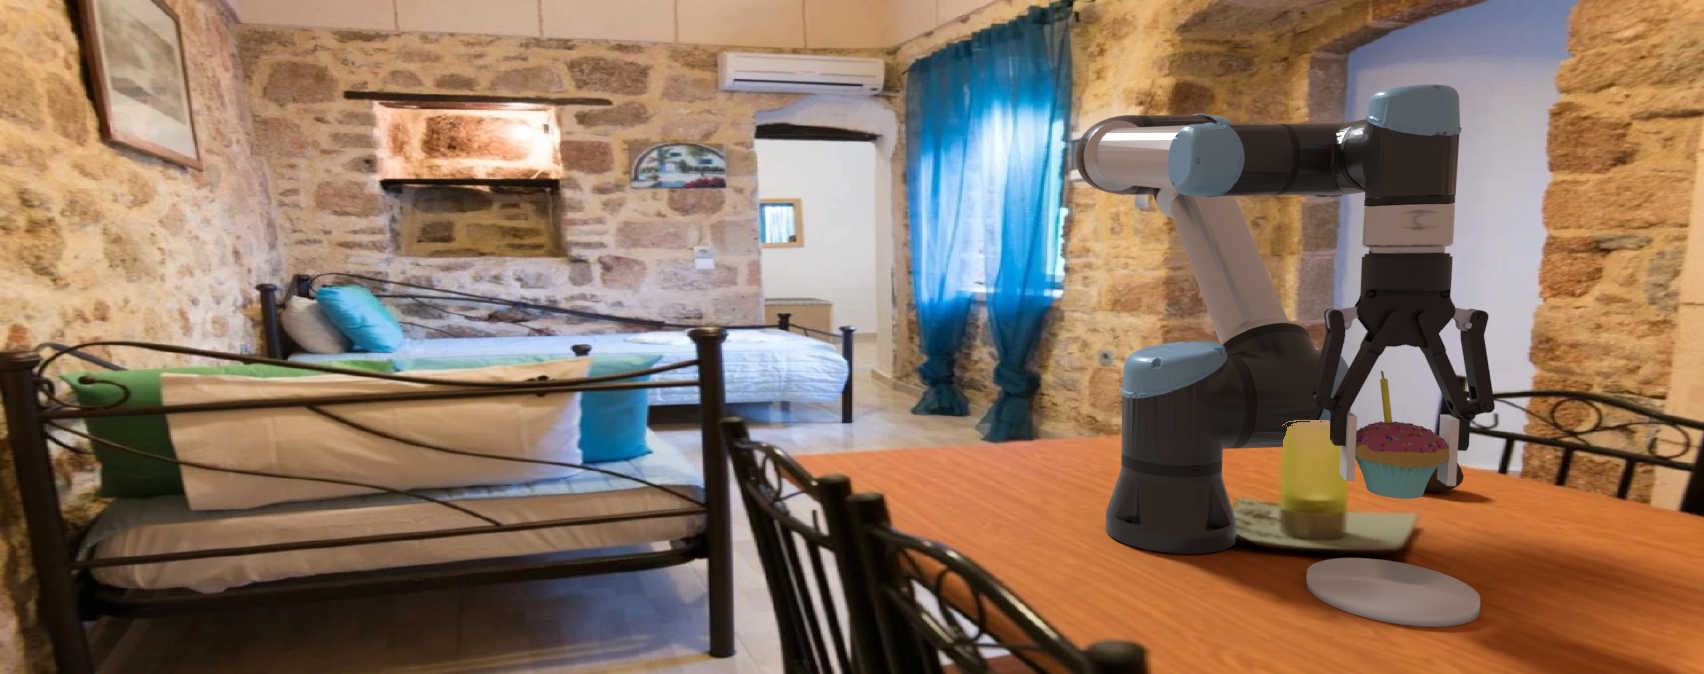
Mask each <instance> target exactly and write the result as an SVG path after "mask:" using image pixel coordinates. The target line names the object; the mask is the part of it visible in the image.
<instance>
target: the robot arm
mask: <svg viewBox="0 0 1704 674" xmlns="http://www.w3.org/2000/svg"><path fill="white" fill-rule="evenodd" d="M1460 112H1461V111H1460V95H1459V92H1458V91H1457V89H1455V87H1452V86H1450V85H1446V84H1416V85H1415V84H1414V85H1405V86H1396V87H1390V88H1386V89H1382V90H1379V91H1377V92H1376V93H1374V94H1373V95H1372V96H1371V97H1370V99H1369V101H1368V106H1367V113H1366V114H1365V115H1366V116H1365V119H1359V120H1354V121H1348V122H1340V123H1339V122H1338V123H1337V122H1334V123H1332V122H1331V123H1330V122H1327V123H1321V122H1320V123H1318V122H1317V123H1314V122H1313V123H1312V122H1311V123H1309V122H1308V123H1306V122H1305V123H1234V122H1232V121H1231V120H1230V119H1228V118H1225V117H1224V116H1221V115H1211V114H1210V115H1208V114H1206V113H1193V114H1189V115H1188V114H1186V115H1182V114H1180V115H1179V114H1178V115H1176V114H1175V115H1174V114H1173V115H1172V114H1169V115H1167V114H1160V115H1159V114H1157V115H1156V114H1150V115H1149V114H1143V115H1140V114H1139V115H1137V114H1126V115H1125V114H1123V115H1117V116H1113V117H1109V118H1106V119H1103V120H1100V121H1098V122H1097V123H1095V124H1094V125H1092V126H1090V127H1089V128H1088V129H1087V130H1086V131H1085V132H1084V133H1083V134H1082V136H1081V137H1080V139H1079V141H1078V143H1077V146H1076V150H1075V165H1076V168H1077V171H1078V173H1079V175H1080V176H1081V178H1082V179H1083V181H1084V182H1086V183H1087V185H1089V186H1091V187H1092V188H1094V189H1097V190H1099V191H1101V192H1105V193H1108V194H1115V195H1132V196H1138V195H1139V196H1141V195H1143V196H1146V195H1148V196H1153V198H1154V200H1155V203H1156V207H1157V209H1158V210H1159V212H1160V213H1161V214H1162V215H1164V216H1166V217H1167V218H1170V219H1173V221H1174V223H1175V226H1176V228H1177V230H1178V235H1179V236H1180V239H1181V242H1182V245H1183V247H1184V251H1185V253H1186V255H1187V258H1188V261H1189V263H1190V266H1191V269H1192V271H1193V275H1194V276H1195V280H1196V281H1197V282H1196V283H1197V284H1198V288H1199V291H1200V293H1201V296H1202V299H1203V300H1204V304H1205V306H1206V309H1207V312H1208V314H1209V317H1210V321H1211V323H1212V325H1213V328H1214V330H1215V333H1216V336H1217V338H1218V341H1219V342H1215V341H1206V340H1197V341H1188V342H1187V341H1186V342H1185V341H1178V342H1170V343H1162V344H1157V345H1151V346H1147V347H1144V348H1140V349H1138V350H1136V351H1133V352H1132V353H1131V354H1129V355H1128V357H1127V358H1126V359H1125V361H1124V365H1123V376H1122V385H1121V387H1120V394H1121V451H1120V452H1121V455H1120V456H1121V457H1120V458H1121V461H1120V464H1121V465H1120V472H1119V474H1118V477H1117V480H1116V483H1115V486H1114V488H1113V490H1112V494H1111V498H1110V500H1109V502H1108V505H1107V508H1106V510H1105V532H1106V533H1107V534H1108V535H1109V536H1110V537H1112V538H1113V539H1115V540H1116V541H1118V542H1121V543H1122V544H1124V545H1128V546H1131V547H1135V548H1138V549H1143V550H1146V551H1147V550H1148V551H1153V552H1159V553H1169V554H1177V555H1178V554H1182V555H1189V554H1190V555H1194V554H1195V555H1196V554H1197V555H1199V554H1200V555H1201V554H1209V553H1217V552H1221V551H1224V550H1227V549H1229V548H1232V546H1234V545H1235V543H1236V542H1237V520H1236V517H1235V514H1234V510H1233V508H1232V507H1233V506H1232V504H1231V501H1230V497H1229V494H1228V491H1227V488H1226V484H1225V481H1224V477H1223V457H1224V450H1233V449H1236V450H1237V449H1263V448H1265V449H1269V448H1284V447H1283V439H1284V437H1285V435H1286V431H1287V427H1289V426H1291V424H1293V423H1297V422H1310V421H1296V422H1288V421H1294V420H1329V421H1330V440H1331V441H1330V442H1331V444H1332V445H1334V447H1336V446H1337V447H1339V448H1340V449H1339V470H1338V475H1340V477H1341V478H1343V480H1345V481H1346V482H1355V474H1356V473H1355V471H1356V458H1355V452H1356V431H1358V429H1357V427H1358V416H1357V415H1355V414H1354V413H1353V412H1352V411H1351V409H1352V406H1353V404H1354V402H1355V401H1356V399H1357V397H1358V396H1359V393H1360V391H1361V390H1362V388H1363V386H1364V384H1365V383H1366V381H1367V379H1368V378H1369V377H1368V376H1370V374H1371V371H1372V370H1373V368H1374V366H1375V364H1376V363H1377V360H1378V359H1379V357H1380V356H1381V355H1382V354H1383V353H1384V351H1385V350H1386V348H1387V347H1389V348H1391V347H1392V348H1394V347H1395V348H1397V347H1402V346H1405V345H1406V346H1410V347H1413V348H1419V350H1420V351H1421V352H1422V353H1423V356H1424V358H1425V359H1426V362H1427V364H1428V366H1429V368H1430V370H1431V372H1432V374H1433V377H1434V379H1435V382H1436V384H1437V386H1438V388H1439V390H1440V393H1441V395H1442V397H1443V399H1444V401H1445V403H1446V406H1447V408H1448V410H1449V412H1450V414H1440V416H1439V417H1440V418H1439V431H1438V432H1439V435H1438V436H1441V438H1443V439H1444V441H1445V442H1446V443H1447V446H1448V450H1449V456H1450V457H1449V460H1448V461H1446V462H1444V463H1442V464H1439V465H1438V470H1437V479H1438V480H1439V481H1441V482H1442V483H1444V484H1445V485H1447V486H1456V474H1457V463H1458V455H1459V454H1458V453H1459V451H1460V452H1462V451H1463V452H1467V451H1468V448H1469V447H1470V435H1471V421H1473V420H1474V419H1475V418H1476V416H1477V415H1481V414H1484V413H1485V414H1490V413H1492V412H1494V410H1495V407H1496V404H1495V399H1494V393H1493V392H1494V391H1493V386H1492V379H1491V371H1490V367H1489V366H1490V365H1489V360H1488V359H1489V358H1488V353H1487V345H1486V340H1485V332H1486V330H1487V325H1488V321H1489V314H1488V312H1487V311H1485V310H1482V309H1481V310H1480V309H1476V308H1469V309H1466V308H1460V307H1459V308H1458V307H1456V305H1455V304H1454V302H1453V300H1452V297H1451V292H1452V278H1453V277H1452V276H1453V274H1452V273H1453V256H1451V253H1449V252H1446V247H1451V246H1452V245H1453V244H1454V233H1455V231H1454V230H1455V215H1456V214H1455V213H1456V212H1455V211H1456V195H1457V181H1458V167H1459V165H1458V164H1459V149H1460V137H1461V136H1460V134H1461V132H1462V127H1461V119H1460V118H1461V115H1460V114H1461V113H1460ZM1361 193H1364V202H1363V203H1364V204H1363V206H1364V207H1363V227H1362V241H1361V242H1362V246H1363V247H1364V248H1368V253H1364V255H1363V256H1361V267H1360V268H1361V269H1360V270H1361V271H1360V295H1359V296H1358V297H1359V298H1358V300H1357V301H1356V303H1355V305H1354V306H1353V307H1345V308H1338V309H1336V308H1327V309H1326V310H1325V311H1324V312H1323V316H1324V324H1325V330H1326V333H1325V337H1324V339H1323V345H1322V349H1317V348H1316V346H1315V345H1314V342H1313V340H1312V337H1311V336H1310V334H1309V332H1308V329H1307V328H1306V327H1305V326H1304V325H1303V324H1301V323H1299V322H1295V321H1293V320H1289V319H1288V316H1287V314H1286V312H1285V309H1284V307H1283V305H1282V302H1281V300H1280V298H1279V296H1278V294H1277V291H1276V289H1275V287H1274V284H1273V281H1272V279H1271V277H1270V274H1269V272H1268V269H1267V268H1266V265H1265V263H1264V261H1263V258H1262V256H1261V254H1260V252H1259V249H1258V247H1257V244H1256V243H1255V240H1254V238H1253V235H1252V233H1251V230H1250V229H1249V226H1248V223H1247V221H1246V219H1245V216H1244V214H1243V212H1242V209H1241V208H1240V205H1239V203H1238V201H1237V198H1236V197H1242V196H1243V197H1244V196H1310V197H1316V198H1327V197H1328V198H1329V197H1330V198H1338V197H1339V198H1340V197H1342V196H1344V195H1345V196H1346V195H1352V194H1361ZM1355 319H1357V320H1358V321H1359V322H1360V324H1361V325H1362V326H1363V328H1364V329H1365V330H1366V333H1365V335H1364V337H1363V339H1362V341H1361V342H1360V345H1359V350H1357V353H1356V355H1355V356H1354V359H1353V360H1352V362H1351V363H1350V365H1349V366H1348V364H1347V362H1346V360H1345V359H1344V357H1343V356H1342V353H1343V348H1344V345H1345V339H1346V331H1348V330H1349V329H1351V327H1352V325H1353V321H1354V320H1355ZM1452 320H1454V322H1455V328H1456V329H1457V330H1459V331H1460V334H1459V336H1460V344H1461V345H1460V346H1461V350H1462V355H1463V356H1462V358H1463V364H1464V370H1465V375H1466V376H1465V377H1466V383H1467V388H1468V396H1469V399H1468V398H1467V396H1466V394H1465V391H1464V389H1463V387H1462V385H1461V382H1460V380H1459V378H1458V376H1457V373H1456V371H1455V370H1454V367H1453V365H1452V363H1451V360H1450V358H1449V357H1448V356H1449V355H1448V354H1447V349H1446V346H1445V344H1444V342H1443V339H1442V338H1441V337H1442V336H1441V334H1440V333H1441V332H1442V331H1443V330H1444V329H1445V327H1446V326H1447V325H1449V323H1450V321H1452ZM1286 422H1288V423H1286ZM1320 422H1322V421H1320ZM1285 423H1286V424H1285ZM1283 424H1285V425H1283ZM1282 425H1283V426H1282ZM1286 425H1287V426H1286ZM1292 426H1293V425H1292ZM1235 538H1236V540H1235Z"/></svg>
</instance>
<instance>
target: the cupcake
mask: <svg viewBox="0 0 1704 674" xmlns="http://www.w3.org/2000/svg"><path fill="white" fill-rule="evenodd" d="M1380 375H1381V378H1380V379H1379V383H1380V391H1381V401H1382V410H1383V420H1384V421H1382V420H1380V421H1377V422H1376V421H1374V423H1368V424H1367V425H1365V426H1364V427H1363V426H1362V427H1360V428H1359V429H1357V431H1356V452H1355V461H1356V462H1357V464H1358V467H1359V469H1360V471H1361V474H1362V477H1363V480H1364V483H1365V486H1366V490H1367V491H1368V492H1370V493H1371V494H1374V495H1376V496H1380V497H1385V498H1391V499H1406V500H1410V499H1411V500H1412V499H1413V500H1414V499H1418V498H1421V497H1422V496H1423V495H1424V494H1425V491H1424V490H1425V488H1426V486H1427V483H1428V481H1429V479H1430V477H1431V475H1432V474H1433V472H1434V471H1435V469H1436V468H1437V466H1438V465H1439V464H1442V463H1444V462H1446V461H1448V460H1449V457H1450V456H1449V450H1448V446H1447V443H1446V442H1445V441H1444V439H1443V438H1441V436H1439V435H1438V434H1437V433H1435V432H1433V430H1432V429H1431V428H1430V429H1429V428H1425V426H1424V425H1415V424H1413V423H1408V422H1407V423H1406V422H1403V421H1401V422H1400V421H1399V422H1398V421H1393V419H1392V418H1393V417H1392V409H1391V399H1390V391H1389V389H1390V388H1389V380H1388V378H1385V374H1384V370H1380Z"/></svg>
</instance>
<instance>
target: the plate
mask: <svg viewBox="0 0 1704 674" xmlns="http://www.w3.org/2000/svg"><path fill="white" fill-rule="evenodd" d="M1305 580H1306V581H1305V582H1306V588H1307V589H1308V591H1309V592H1310V593H1311V594H1312V595H1313V597H1315V598H1316V599H1318V600H1320V601H1322V602H1323V603H1325V604H1327V605H1329V606H1330V607H1331V606H1332V607H1333V608H1336V609H1339V610H1341V611H1344V612H1346V613H1349V614H1352V615H1355V616H1359V617H1362V618H1365V619H1370V620H1373V621H1379V622H1382V623H1383V622H1385V623H1389V624H1396V625H1402V626H1412V627H1422V628H1429V627H1430V628H1432V627H1433V628H1444V627H1445V628H1446V627H1453V626H1454V627H1455V626H1461V625H1464V624H1467V623H1468V624H1469V623H1471V622H1474V620H1476V619H1477V618H1478V617H1479V615H1480V614H1481V612H1480V610H1481V597H1480V594H1479V593H1478V592H1477V590H1476V589H1474V588H1473V587H1472V586H1470V585H1469V584H1468V583H1465V582H1463V581H1462V580H1459V579H1458V578H1455V577H1452V576H1451V575H1448V574H1446V573H1443V572H1439V571H1436V570H1433V569H1430V568H1426V567H1423V566H1418V565H1414V564H1410V563H1405V562H1398V561H1392V560H1388V559H1387V560H1386V559H1375V558H1365V557H1364V558H1363V557H1339V558H1330V559H1325V560H1321V561H1318V562H1315V563H1313V564H1311V565H1310V566H1309V567H1308V568H1307V569H1306V579H1305Z"/></svg>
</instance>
